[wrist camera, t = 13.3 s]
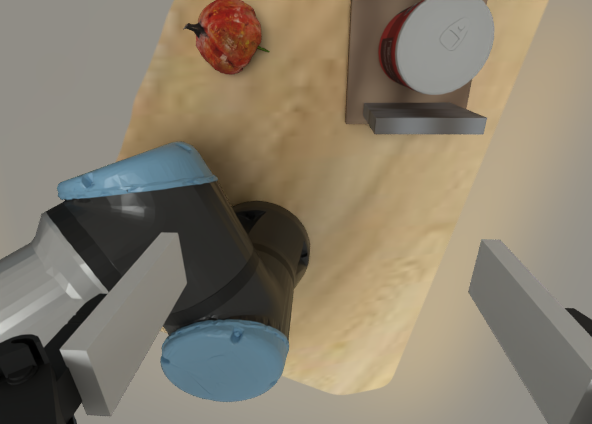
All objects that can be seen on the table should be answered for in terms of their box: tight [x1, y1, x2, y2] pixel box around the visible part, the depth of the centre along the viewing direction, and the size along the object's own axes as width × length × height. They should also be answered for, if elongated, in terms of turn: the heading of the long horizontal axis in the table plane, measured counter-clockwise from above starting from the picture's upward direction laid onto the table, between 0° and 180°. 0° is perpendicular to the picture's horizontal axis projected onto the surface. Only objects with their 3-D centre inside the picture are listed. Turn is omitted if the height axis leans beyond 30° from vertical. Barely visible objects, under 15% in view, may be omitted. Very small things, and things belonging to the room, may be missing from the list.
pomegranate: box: [184, 0, 269, 75], centre depth 37 cm, size 7×7×10 cm
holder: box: [345, 0, 487, 134], centre depth 34 cm, size 14×17×12 cm
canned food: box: [378, 0, 494, 95], centre depth 33 cm, size 8×8×11 cm
